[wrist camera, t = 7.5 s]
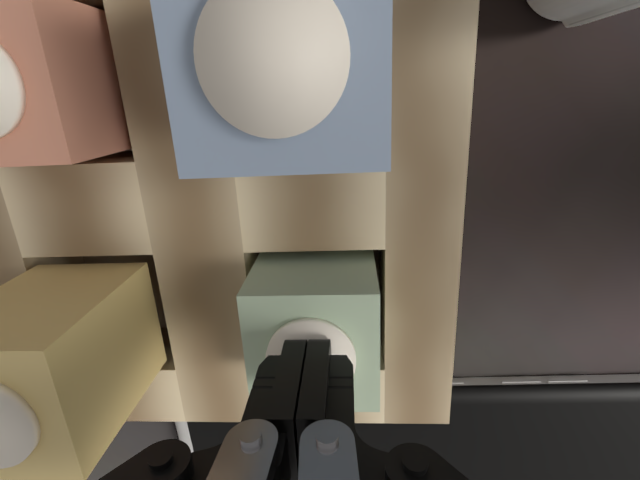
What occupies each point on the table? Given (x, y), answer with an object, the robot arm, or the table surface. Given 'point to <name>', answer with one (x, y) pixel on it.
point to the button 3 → (277, 85)
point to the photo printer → (580, 9)
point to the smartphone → (514, 428)
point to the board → (270, 221)
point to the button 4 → (315, 311)
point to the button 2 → (72, 364)
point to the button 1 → (57, 85)
